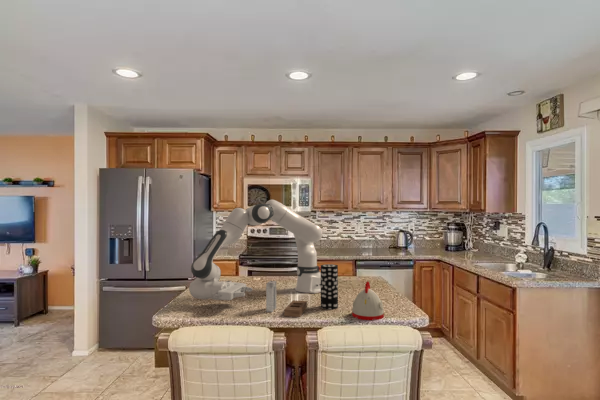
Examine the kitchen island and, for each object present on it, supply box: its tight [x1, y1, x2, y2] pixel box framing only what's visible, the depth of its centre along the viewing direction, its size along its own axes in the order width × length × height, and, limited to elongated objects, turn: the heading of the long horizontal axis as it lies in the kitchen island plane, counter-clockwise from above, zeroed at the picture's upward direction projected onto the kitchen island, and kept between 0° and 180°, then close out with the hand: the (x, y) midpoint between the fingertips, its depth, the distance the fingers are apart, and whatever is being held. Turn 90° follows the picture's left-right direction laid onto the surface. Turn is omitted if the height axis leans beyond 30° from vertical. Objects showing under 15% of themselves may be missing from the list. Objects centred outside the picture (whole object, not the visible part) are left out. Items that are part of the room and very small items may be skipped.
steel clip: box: [265, 280, 277, 313], centre depth 170 cm, size 6×3×13 cm, turn 167°
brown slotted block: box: [283, 299, 308, 318], centre depth 167 cm, size 16×7×3 cm, turn 167°
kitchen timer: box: [351, 281, 385, 321], centre depth 161 cm, size 14×14×15 cm
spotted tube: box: [320, 263, 339, 310], centre depth 174 cm, size 8×8×20 cm
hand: (248, 291), depth 172 cm, fingers open, 8 cm apart
